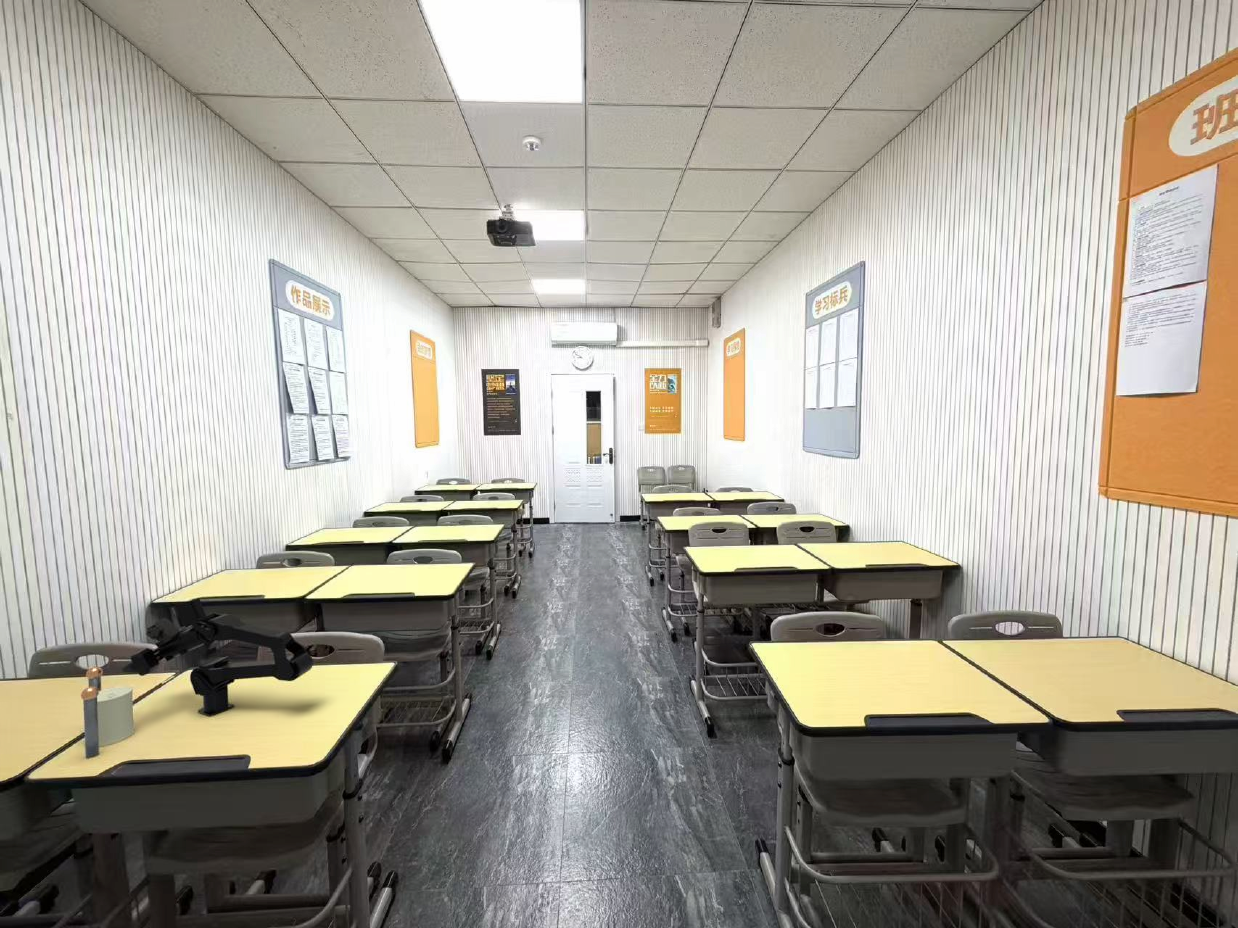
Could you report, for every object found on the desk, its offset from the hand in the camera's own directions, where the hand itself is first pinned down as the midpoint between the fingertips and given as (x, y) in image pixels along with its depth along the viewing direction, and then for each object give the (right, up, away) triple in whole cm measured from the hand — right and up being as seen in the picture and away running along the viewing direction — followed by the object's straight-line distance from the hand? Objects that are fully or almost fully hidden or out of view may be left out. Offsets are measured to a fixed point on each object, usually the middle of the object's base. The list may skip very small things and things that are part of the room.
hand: (136, 662), depth 154 cm
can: (+5, -15, -13) cm, 21 cm away
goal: (+3, -15, -15) cm, 21 cm away
